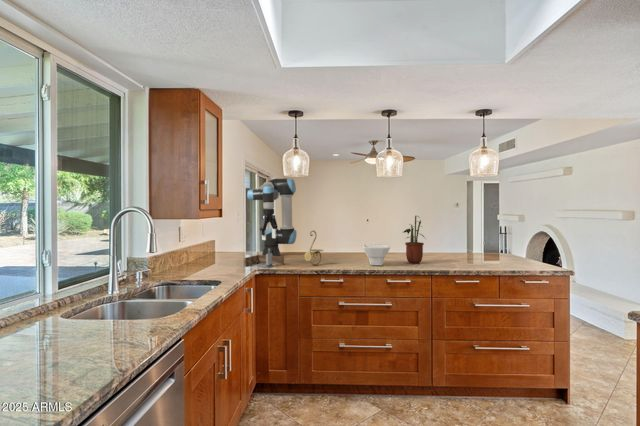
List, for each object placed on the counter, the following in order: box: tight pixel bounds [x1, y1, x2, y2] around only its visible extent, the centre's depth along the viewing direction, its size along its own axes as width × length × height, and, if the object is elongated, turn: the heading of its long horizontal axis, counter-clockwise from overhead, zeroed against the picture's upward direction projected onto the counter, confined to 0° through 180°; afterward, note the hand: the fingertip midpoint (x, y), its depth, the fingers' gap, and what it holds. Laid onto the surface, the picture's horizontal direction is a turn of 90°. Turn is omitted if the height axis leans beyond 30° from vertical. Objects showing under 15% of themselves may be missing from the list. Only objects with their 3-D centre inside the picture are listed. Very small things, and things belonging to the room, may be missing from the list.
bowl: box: [362, 244, 391, 266], centre depth 272 cm, size 19×19×14 cm
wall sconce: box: [304, 230, 325, 266], centre depth 274 cm, size 14×10×25 cm
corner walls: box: [243, 254, 285, 267], centre depth 273 cm, size 18×22×6 cm
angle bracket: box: [256, 253, 273, 268], centre depth 269 cm, size 9×6×9 cm, turn 67°
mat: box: [262, 264, 275, 269], centre depth 269 cm, size 10×13×1 cm
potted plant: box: [402, 215, 426, 265], centre depth 278 cm, size 17×16×35 cm
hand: (269, 239), depth 268 cm, fingers open, 13 cm apart
